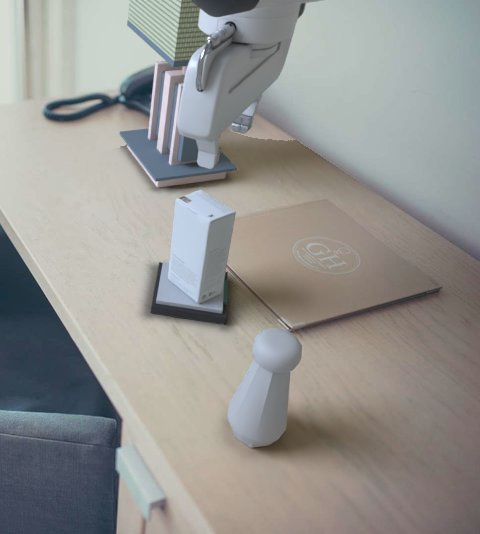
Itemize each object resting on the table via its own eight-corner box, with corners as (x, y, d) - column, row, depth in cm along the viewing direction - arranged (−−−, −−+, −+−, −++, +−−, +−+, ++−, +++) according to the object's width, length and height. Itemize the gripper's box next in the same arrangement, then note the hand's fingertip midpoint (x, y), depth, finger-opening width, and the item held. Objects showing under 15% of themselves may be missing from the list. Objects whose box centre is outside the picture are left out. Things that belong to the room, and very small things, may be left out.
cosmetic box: (223, 293, 79) (241, 211, 72) (196, 306, 77) (211, 223, 70) (190, 267, 83) (203, 186, 76) (163, 279, 81) (174, 197, 74)
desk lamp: (237, 183, 104) (281, -33, 84) (156, 195, 101) (182, -29, 80) (189, 134, 118) (218, -63, 98) (117, 142, 114) (131, -60, 94)
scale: (226, 278, 85) (228, 268, 83) (224, 324, 78) (226, 313, 76) (158, 269, 86) (159, 258, 85) (150, 313, 79) (151, 302, 78)
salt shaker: (291, 452, 63) (325, 360, 55) (235, 459, 62) (262, 367, 54) (267, 405, 68) (296, 314, 60) (216, 412, 67) (238, 320, 59)
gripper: (240, 48, 51) (215, 198, 59) (313, -8, 65) (284, 120, 73) (168, 33, 53) (153, 179, 62) (252, -18, 67) (231, 107, 76)
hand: (225, 146), depth 68 cm, fingers open, 8 cm apart
